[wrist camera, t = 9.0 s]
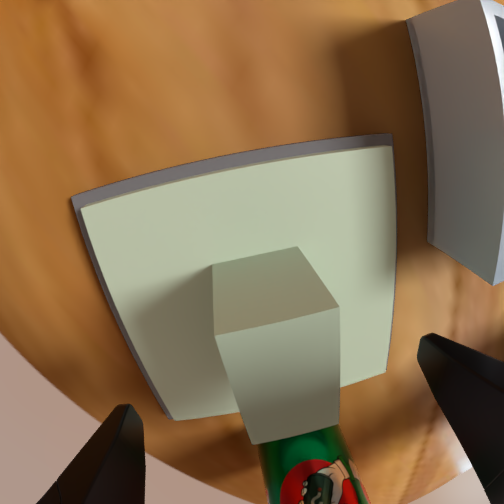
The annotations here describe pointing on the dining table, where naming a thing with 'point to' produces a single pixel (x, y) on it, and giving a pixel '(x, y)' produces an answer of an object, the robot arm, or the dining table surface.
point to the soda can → (311, 469)
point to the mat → (206, 167)
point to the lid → (257, 285)
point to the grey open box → (464, 130)
